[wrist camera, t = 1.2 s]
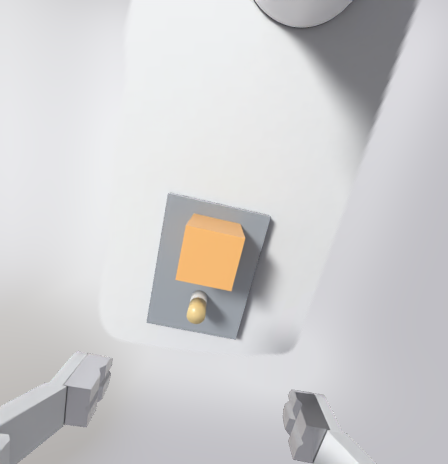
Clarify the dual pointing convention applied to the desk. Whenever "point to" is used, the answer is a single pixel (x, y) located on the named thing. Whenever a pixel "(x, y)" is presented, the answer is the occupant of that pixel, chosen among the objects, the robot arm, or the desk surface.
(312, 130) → the desk surface
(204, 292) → the plate
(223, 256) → the amber rectangular brick
